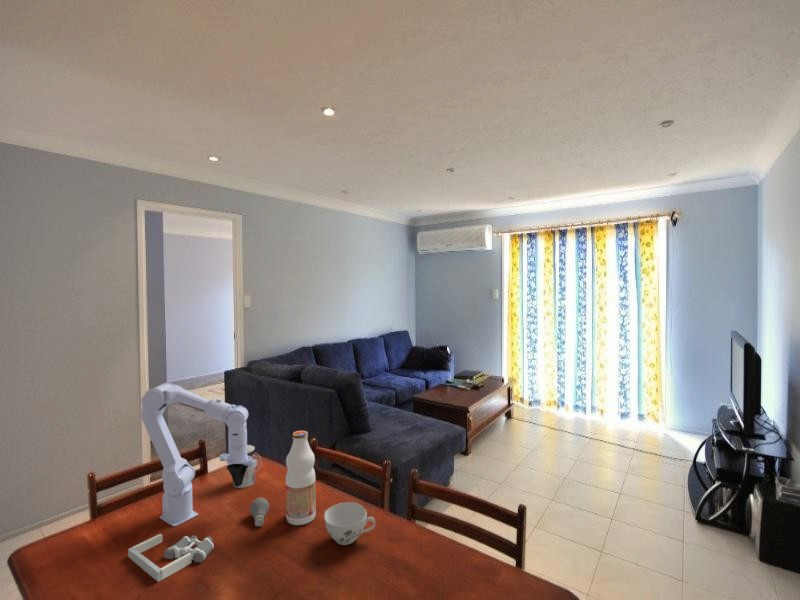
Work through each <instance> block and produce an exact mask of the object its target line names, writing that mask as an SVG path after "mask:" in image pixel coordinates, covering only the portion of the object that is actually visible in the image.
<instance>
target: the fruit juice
mask: <svg viewBox="0 0 800 600" xmlns="http://www.w3.org/2000/svg"><path fill="white" fill-rule="evenodd" d="M308 436H309V432H308V431H306V430H296V431H294V432H293V433H292V439H293V441H292V445H291V448H290V450H289V451H288V452H289V453H288V454H287V456H286V458H285V459H286V460H285V465H286V468H287V472H286V475H285V502H286V503H285V512H286V514H285V516H286V522H287V523H288V524H290V525H293V526H303V525H307V524H309V523H311V522H312V521H314V519H315V517H316V514H317V513H316V512H317V507H316V506H317V504H316V503H317V502H316V501H317V500H316V499H317V497H316V496H317V495H316V478H317V477H316V472H315V468H314V466H315V460H316V457H315V453H314V452H313V450H312V448H311V447H310V443H309V441H308V438H309V437H308Z"/></svg>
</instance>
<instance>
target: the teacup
mask: <svg viewBox="0 0 800 600" xmlns="http://www.w3.org/2000/svg"><path fill="white" fill-rule="evenodd" d="M367 513H368V511H367V510H366V508H365V507H364V506H363V505H362V504H359V503H358V502H351V501H349V502H348V501H347V502H340V503H337V504H335V505H331V506H330V507H329V508H327V509H326V510H325V512H324V517H323V518H324V522H325V528H326V530H327V534H328V535H329V536H330V537H331V538H332V539H333V540H334V541H335V542H336V543H337V544H338V545H341V546H348V545H350V544H353V543H354V542H355V541H356V540H357V539H358V538H359V537H360V536H361V535H362V534H365V533H368V532H371V531H372V530H373V529H374V528H375V526H376V519H375V517H373V516H368V514H367ZM367 516H368V517H367ZM368 522H372V525H371V526H370V527H367V528H366V529H365V527H366V525H367V523H368Z"/></svg>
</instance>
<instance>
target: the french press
mask: <svg viewBox="0 0 800 600" xmlns="http://www.w3.org/2000/svg"><path fill="white" fill-rule="evenodd" d="M245 422H246V423H247V420H246V421H245ZM255 448H256V447H255V446H254V445H251V444H247V455H248V454H251V453H253V454H252V455H251V456H250V457H251V458H253V459H255V458H256V460H257V462H258V468H257V469H256V468H255V467H256V466H255V467H254V468H251V466H248V468H247V470H246V472H245V475H244V478H243V482H242V485H240V486H238V487H237V486H235V485H234V482H233V481H232V482H233V483H232V485H233V487H234V488H237V489H244V488H249V487H251V486H253V485H254V484H255V482H256V473H257V472H258V471H259V470H260V469H261V467H262V463H263V462H262V458H261V456H260V455H259V453H257V452H254V450H256V449H255ZM255 454H256V455H255ZM259 458H260V460H259ZM255 469H256V470H255Z"/></svg>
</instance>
